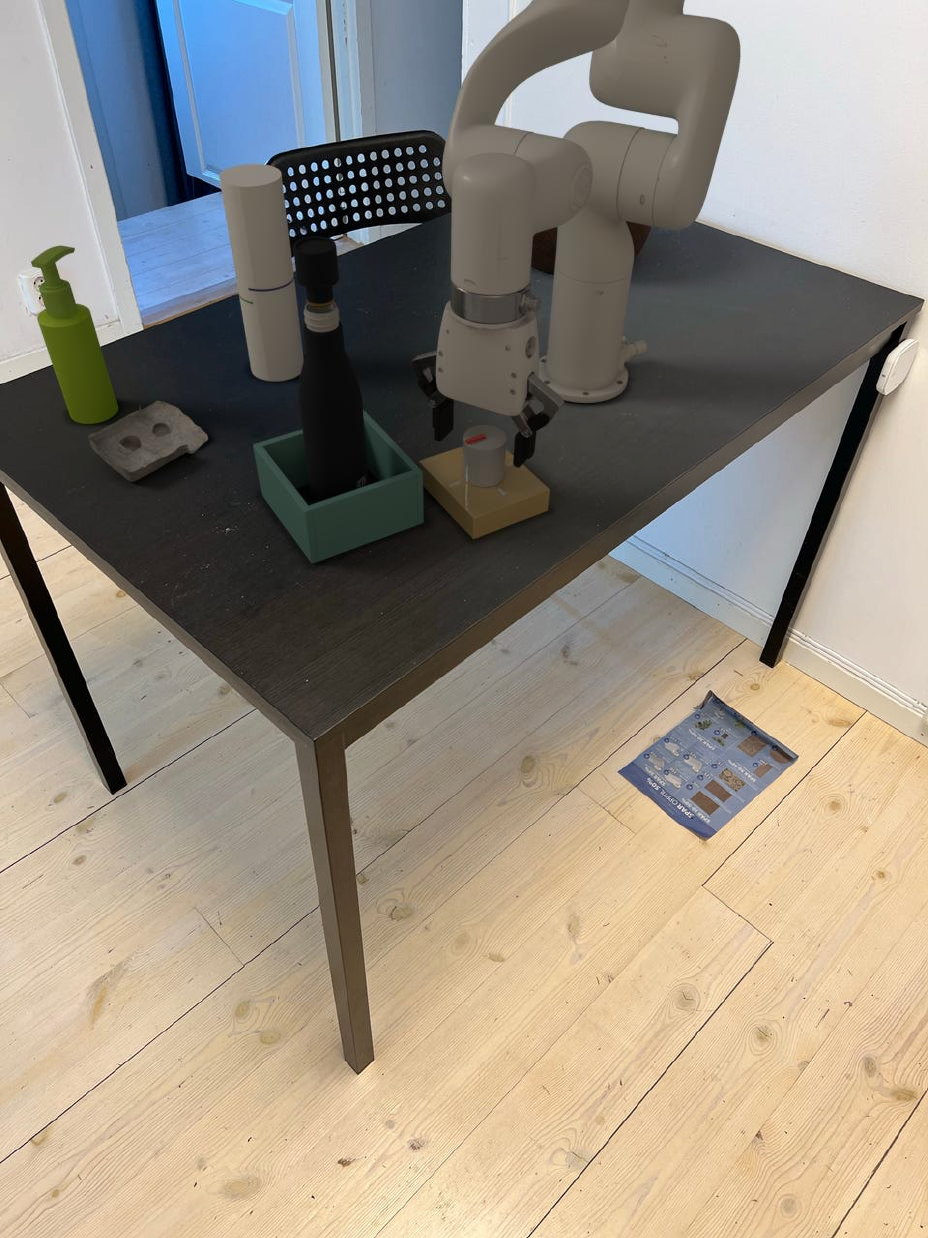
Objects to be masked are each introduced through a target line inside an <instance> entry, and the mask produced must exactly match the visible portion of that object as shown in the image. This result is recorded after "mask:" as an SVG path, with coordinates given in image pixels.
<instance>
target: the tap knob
mask: <svg viewBox="0 0 928 1238" xmlns="http://www.w3.org/2000/svg"><path fill="white" fill-rule="evenodd" d="M507 441H508V437H507V434H506V432H505V431H504V430H503V429H501V428H499V427H498V426H495V425H490V424H478V425H474V426H470V427H468V428H467V429H466V430H465V431H464V432H463V434H462V446H463V453H462V476H463V478H464V480H465V481H466V482H468V483H469V484H471V485H473V486H477V487H491V486H495V485H497V484H499V483H500V482H501V481H502V480H503V479H504V477H505V462H506V449H507V443H508V442H507Z"/></svg>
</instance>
